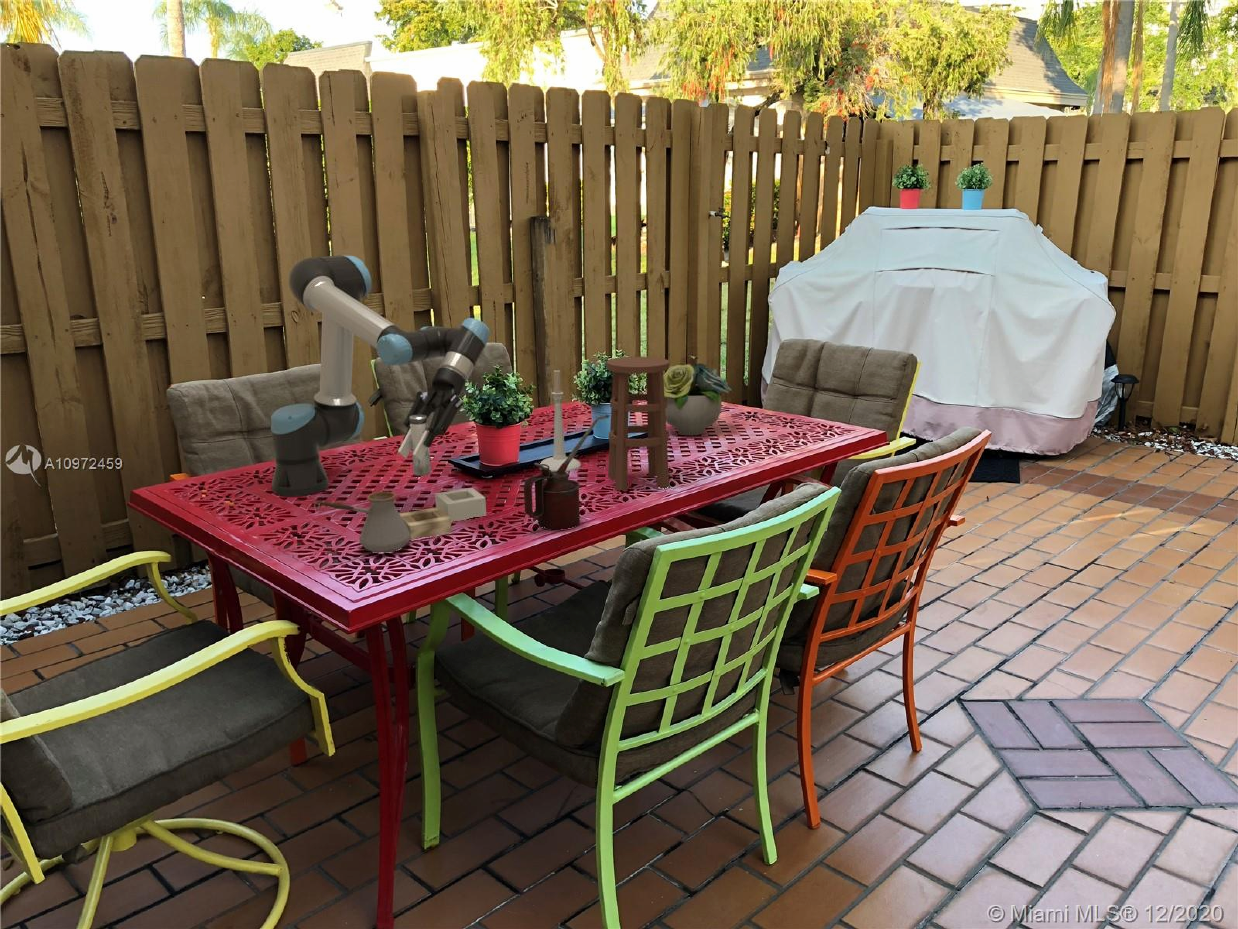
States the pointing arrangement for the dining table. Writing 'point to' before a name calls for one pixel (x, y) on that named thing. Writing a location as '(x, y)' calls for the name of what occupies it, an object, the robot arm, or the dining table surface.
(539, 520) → the oil can
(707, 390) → the flower arrangement
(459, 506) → the small grey open-top box
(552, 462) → the candlestick
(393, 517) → the coffee pot
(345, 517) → the dining table surface
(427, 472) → the salt shaker
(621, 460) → the stool
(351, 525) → the dining table surface
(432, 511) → the socket block
